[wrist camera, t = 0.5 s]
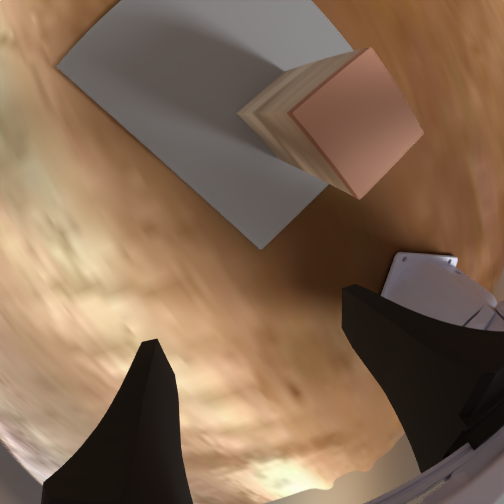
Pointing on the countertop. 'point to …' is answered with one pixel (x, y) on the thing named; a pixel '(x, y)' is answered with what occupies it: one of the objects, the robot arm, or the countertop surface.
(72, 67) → the rubber mat
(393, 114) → the birch block
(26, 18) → the countertop surface
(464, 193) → the countertop surface
